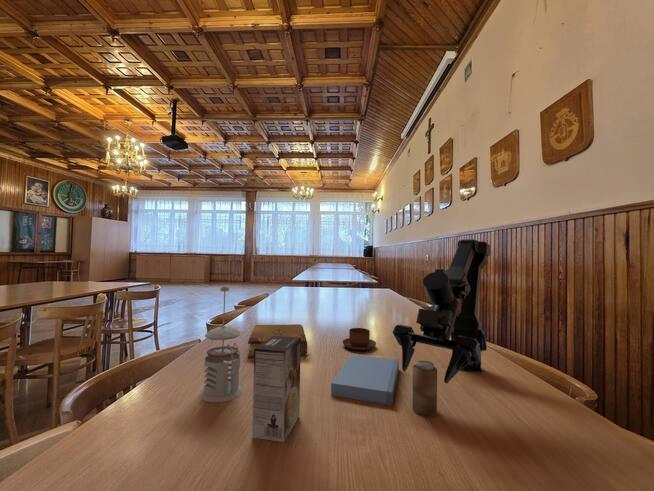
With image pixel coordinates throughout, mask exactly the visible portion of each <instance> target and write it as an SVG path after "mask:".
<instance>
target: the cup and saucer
mask: <svg viewBox="0 0 654 491" xmlns="http://www.w3.org/2000/svg"><path fill="white" fill-rule="evenodd" d="M370 332H371V330H370V329H367V328H363V327H362V328H361V327H353V328H350V329H349V331H348V334H349V335H348V336H349V337H348V338H345V339H344V340H342V345H344V347H345V348H348V349H350V350H356V351H367V350H372V349H374V348H375V347H376V344H377V342H376V341H375V340H373V339H370V336H371V335H370V334H371V333H370Z"/></svg>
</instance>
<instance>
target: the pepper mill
mask: <svg viewBox="0 0 654 491" xmlns="http://www.w3.org/2000/svg"><path fill="white" fill-rule="evenodd" d="M411 407H412V411H413V412H414V413H415V414H416V415H418V416H422V417H427V418H430V417H431V418H432V417H435V416H437V414H438V368H436V367H435V364H434V363H433V362H432V361H428V360H417V361H416V364H414V365H412V406H411Z"/></svg>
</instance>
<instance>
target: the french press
mask: <svg viewBox="0 0 654 491" xmlns="http://www.w3.org/2000/svg"><path fill="white" fill-rule="evenodd" d="M229 291H230V288H229V287H228V286H226V285H224V286H223V285H222V286H221V287H220V292H223V318H222V319H223V320H222V321H223V322H222V324H223V325H221V326H217V327H215V328H213V329H210V330H209V331H207V332H206V333H205V335H204V337H205V338H206V339H207V340H211V341H222V345H221V346H216V347H212V348H210V349H208V350H207V351H206V355H207V356H205V357H204V373H205V375H204V376H203V378H204V379H205V380H204V381H203V384H204V385H203V389H202V390H201V391H200V392H199V394H198V396H199V399H200V400H202V401H204V402H208V403H223V402H228V401H231V400H234V399H236V398H238V397H240V395H241V394H243V390H244V389H243V387H242V386H241V385H240V384H239V380H240V366H241V355H240V349H239V346H238V345H237V343H236V342H234V343H233V346H230V344H229V343H228V344H226V346H224V345H225V343H224V342H225V341H227V340H233V339H236V338H238V337H240V335H241V334H242V331H240V330H239V329H237V328H235V327H232V326H227V325H225V313H226V311H225V310H226V292H229ZM224 361H225V362H224ZM229 362H231V363H229ZM206 367H207V368H206ZM229 367H230V368H229ZM229 377H230V378H229Z"/></svg>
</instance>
